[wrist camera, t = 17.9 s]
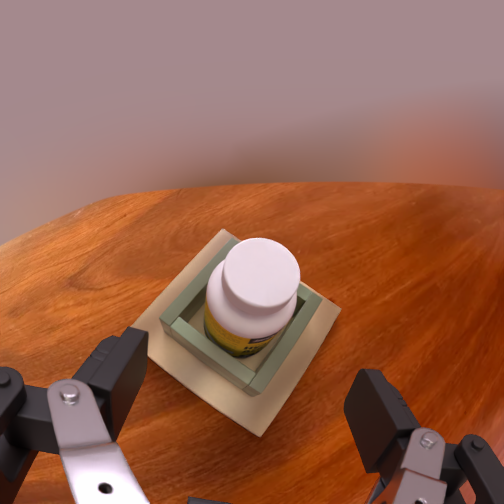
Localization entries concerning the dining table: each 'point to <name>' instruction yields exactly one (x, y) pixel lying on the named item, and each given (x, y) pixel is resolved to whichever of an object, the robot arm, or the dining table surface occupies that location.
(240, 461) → the dining table surface
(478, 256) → the dining table surface
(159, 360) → the holder
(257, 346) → the supplement bottle
